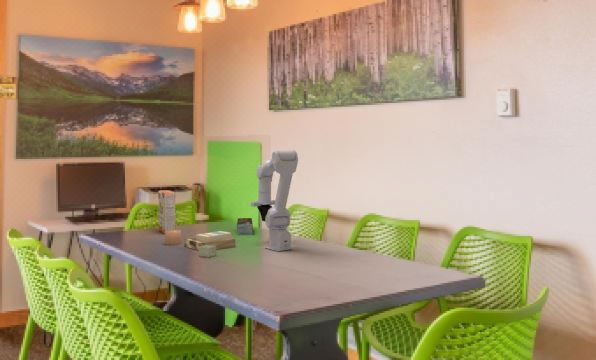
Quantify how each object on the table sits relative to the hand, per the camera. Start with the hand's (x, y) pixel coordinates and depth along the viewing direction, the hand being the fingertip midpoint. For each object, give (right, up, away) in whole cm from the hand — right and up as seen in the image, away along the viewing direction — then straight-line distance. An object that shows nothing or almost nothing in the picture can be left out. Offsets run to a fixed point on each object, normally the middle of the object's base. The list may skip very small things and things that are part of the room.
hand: (264, 221), depth 267 cm
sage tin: (-22, -12, -31) cm, 39 cm away
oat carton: (-22, -11, -11) cm, 27 cm away
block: (-41, -10, -5) cm, 43 cm away
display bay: (-23, -10, -11) cm, 28 cm away
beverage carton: (-12, -8, +29) cm, 32 cm away
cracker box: (-51, -8, +26) cm, 58 cm away
